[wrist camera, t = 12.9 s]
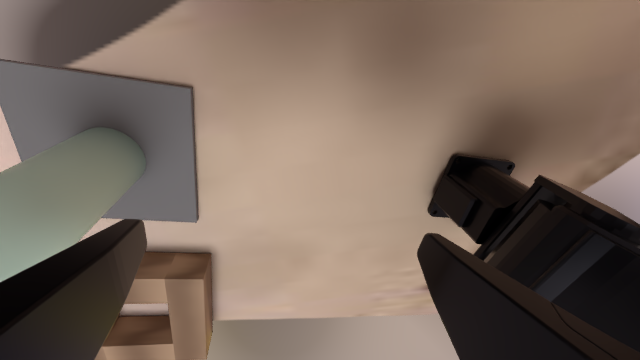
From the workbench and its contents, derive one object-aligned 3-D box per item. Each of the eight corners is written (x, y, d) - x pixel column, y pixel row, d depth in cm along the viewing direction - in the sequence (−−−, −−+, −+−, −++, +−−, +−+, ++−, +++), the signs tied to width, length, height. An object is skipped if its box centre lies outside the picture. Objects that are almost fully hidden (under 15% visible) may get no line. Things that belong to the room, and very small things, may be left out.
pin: (156, 150, 19) (-24, 320, 8) (132, 193, 20) (-52, 394, 9) (87, 114, 17) (-284, 266, 6) (65, 164, 18) (-271, 369, 7)
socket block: (211, 253, 25) (203, 279, 22) (212, 331, 30) (206, 359, 27) (60, 249, 22) (32, 278, 20) (92, 335, 28) (72, 366, 25)
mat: (192, 87, 18) (190, 89, 17) (198, 218, 23) (196, 222, 22) (-10, 57, 15) (-18, 58, 15) (46, 211, 20) (41, 214, 20)
